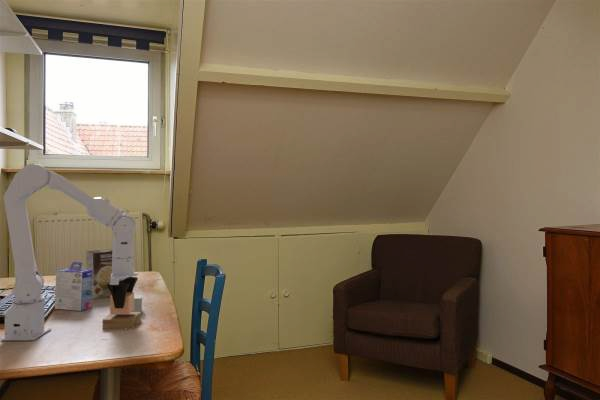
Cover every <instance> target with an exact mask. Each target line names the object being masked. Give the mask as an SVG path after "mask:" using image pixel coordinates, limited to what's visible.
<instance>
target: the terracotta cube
mask: <svg viewBox="0 0 600 400" xmlns="http://www.w3.org/2000/svg"><path fill="white" fill-rule="evenodd" d="M134 295H135V292H134V291H133V292H126V296H125V304H124V307H123V308H115V306H114V302H113V298H112V295H111V296H109V297H110V299H109V305H110V306H109V314H130V313H131V312H132V311H133V310H134Z"/></svg>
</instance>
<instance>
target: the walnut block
mask: <svg viewBox="0 0 600 400" xmlns="http://www.w3.org/2000/svg"><path fill="white" fill-rule="evenodd" d="M140 322H142V314H141V312H131V313H130V314H110V313H109V314H108V315H107V316H105V317H104V318H102V330H130V329H129V328H133V327H134V328H136V326H137V325H139V323H140ZM125 328H127V329H125ZM134 328H133V329H134Z"/></svg>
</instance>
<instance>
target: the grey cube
mask: <svg viewBox="0 0 600 400" xmlns="http://www.w3.org/2000/svg"><path fill="white" fill-rule="evenodd" d="M132 312H141V315H142V314H143V313H142V312H143V295H142V294H134V310H133V311H132Z"/></svg>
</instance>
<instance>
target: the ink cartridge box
mask: <svg viewBox="0 0 600 400" xmlns="http://www.w3.org/2000/svg"><path fill="white" fill-rule="evenodd" d="M76 265H78V266H76ZM82 266H83V262H79V261H78V262H77V261H72V263H71V265H70V267H69V268H65V269H64V268H63V269H59V270H56V271H55V291H54V292H55V293H54V309H55V310H65V311H78V312H81V311H84V310H88V309H91V308H93V298H92V274H93V270H86V269H82Z"/></svg>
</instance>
